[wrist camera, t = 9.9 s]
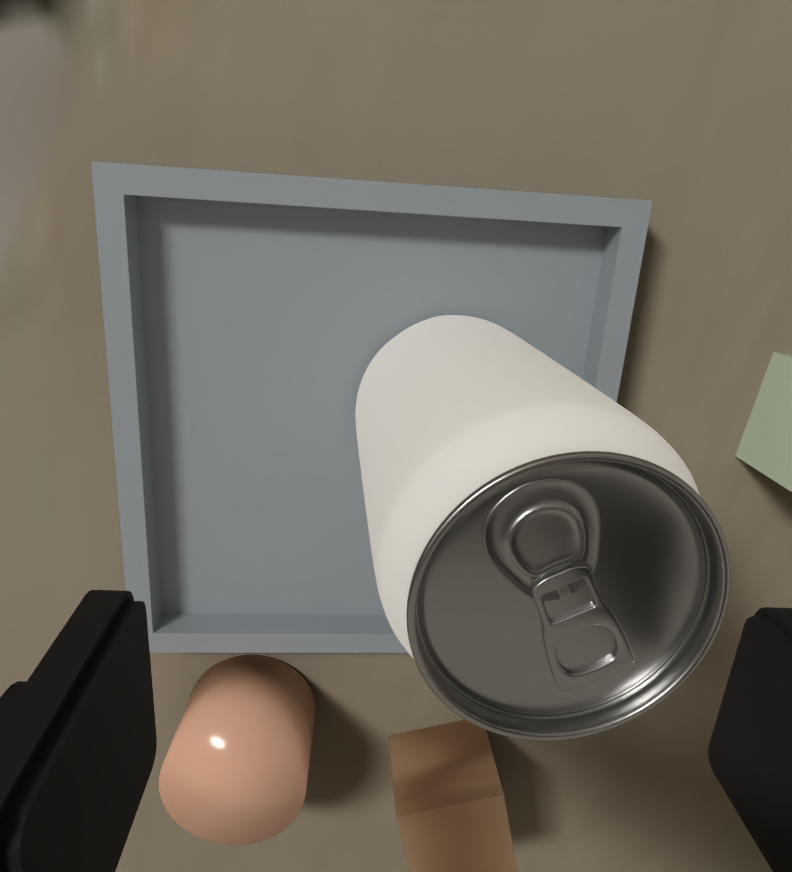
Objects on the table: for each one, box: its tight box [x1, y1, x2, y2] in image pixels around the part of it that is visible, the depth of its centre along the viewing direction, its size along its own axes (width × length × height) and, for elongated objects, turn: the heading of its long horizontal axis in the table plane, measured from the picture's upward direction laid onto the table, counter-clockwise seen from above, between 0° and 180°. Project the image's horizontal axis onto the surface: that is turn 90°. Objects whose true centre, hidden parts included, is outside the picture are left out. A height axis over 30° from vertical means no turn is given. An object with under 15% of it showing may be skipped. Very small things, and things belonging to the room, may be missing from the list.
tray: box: [91, 161, 652, 653], centre depth 22 cm, size 16×16×2 cm
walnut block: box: [389, 720, 517, 872], centre depth 27 cm, size 4×4×4 cm
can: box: [355, 315, 731, 741], centre depth 17 cm, size 6×6×12 cm
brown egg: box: [159, 655, 316, 845], centre depth 25 cm, size 5×5×4 cm
